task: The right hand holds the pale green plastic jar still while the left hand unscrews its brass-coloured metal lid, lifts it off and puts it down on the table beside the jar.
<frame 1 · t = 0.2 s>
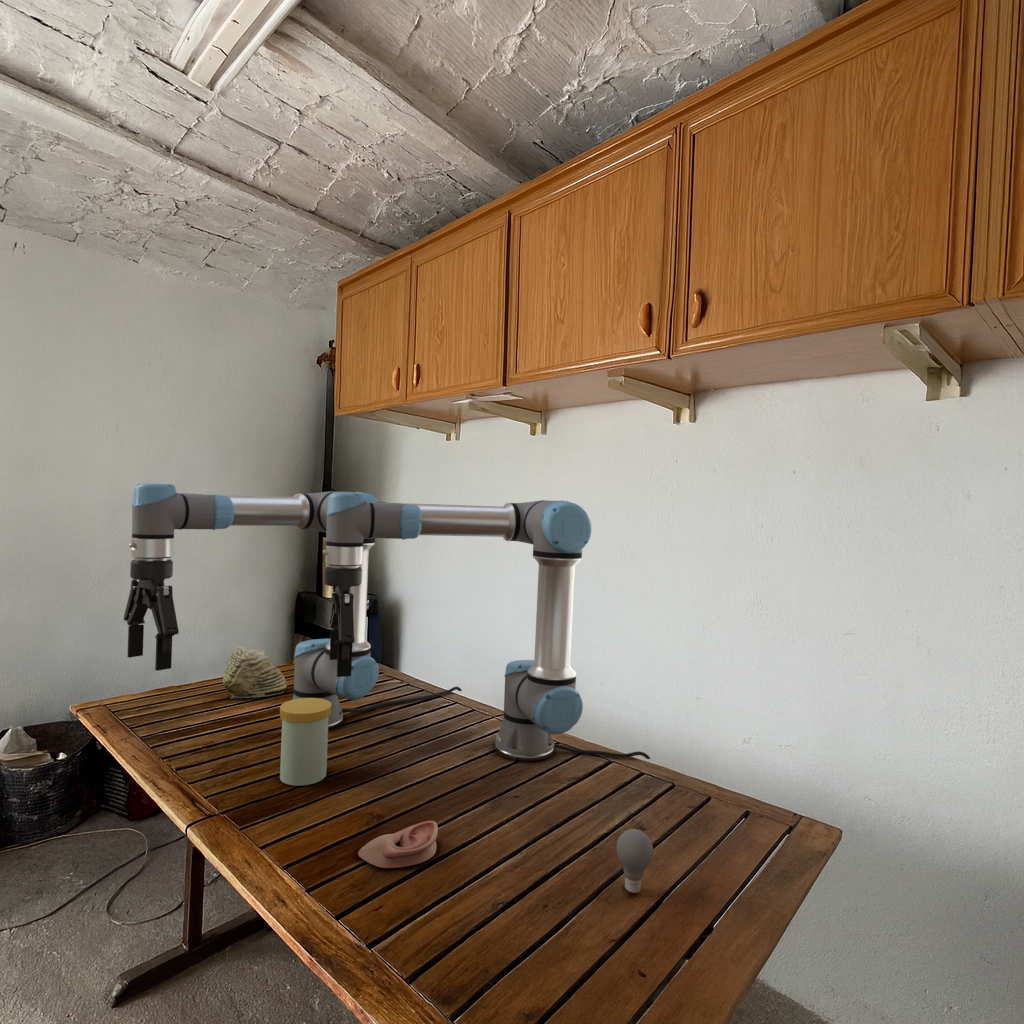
left hand: (148, 662, 129), 28 cm above the table, tool pointing down, fingers open, 13 cm apart
right hand: (339, 667, 133), 28 cm above the table, tool pointing down, fingers open, 13 cm apart
anatomical model: (398, 852, 114), on the table
light bulb: (632, 891, 106), on the table
jar: (303, 775, 143), on the table
fossil: (254, 694, 198), on the table
lid: (306, 706, 143), point 16 cm above the table, screwed on, not yet turned
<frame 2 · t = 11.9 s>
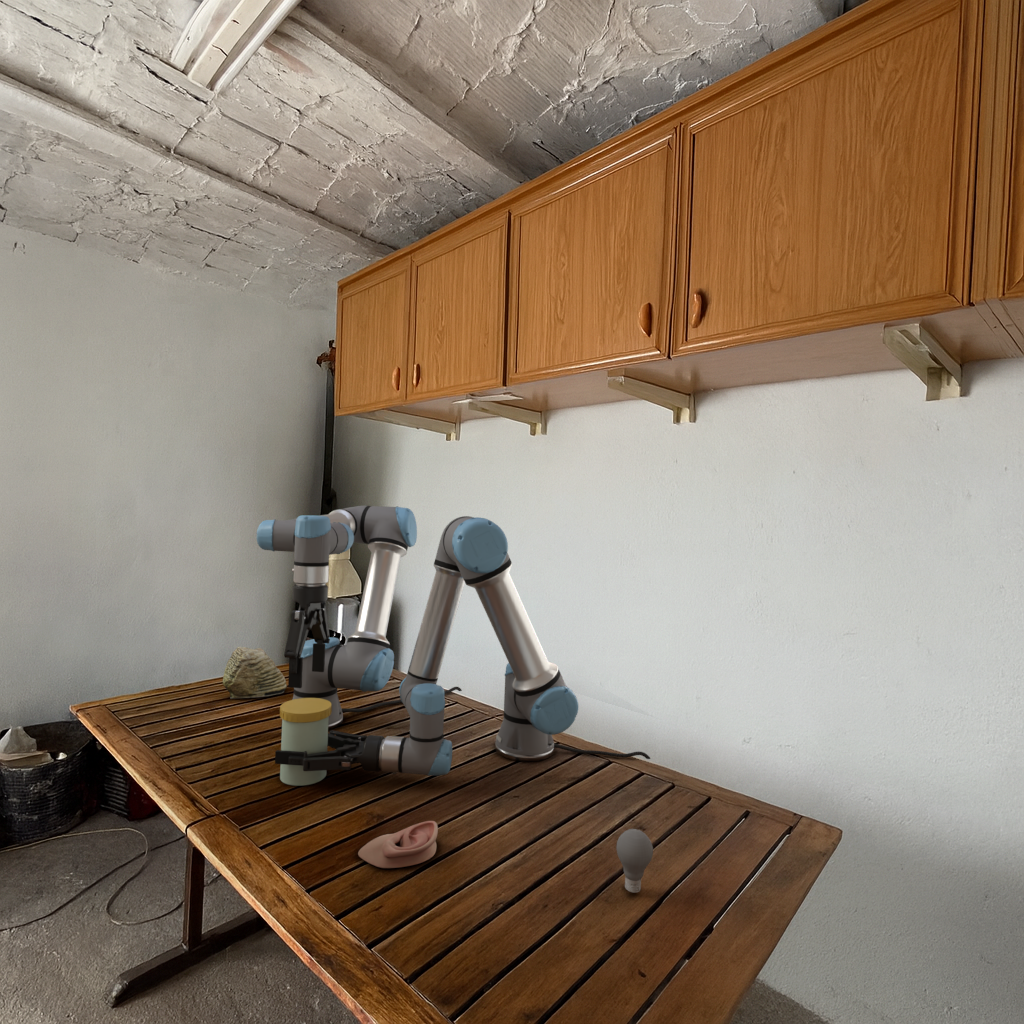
left hand: (307, 679, 143), 22 cm above the table, tool pointing down, fingers open, 12 cm apart
right hand: (285, 747, 143), 6 cm above the table, tool horizontal, fingers closed on jar, 10 cm apart
jar: (303, 775, 143), on the table, touching right hand
everything else where it was.
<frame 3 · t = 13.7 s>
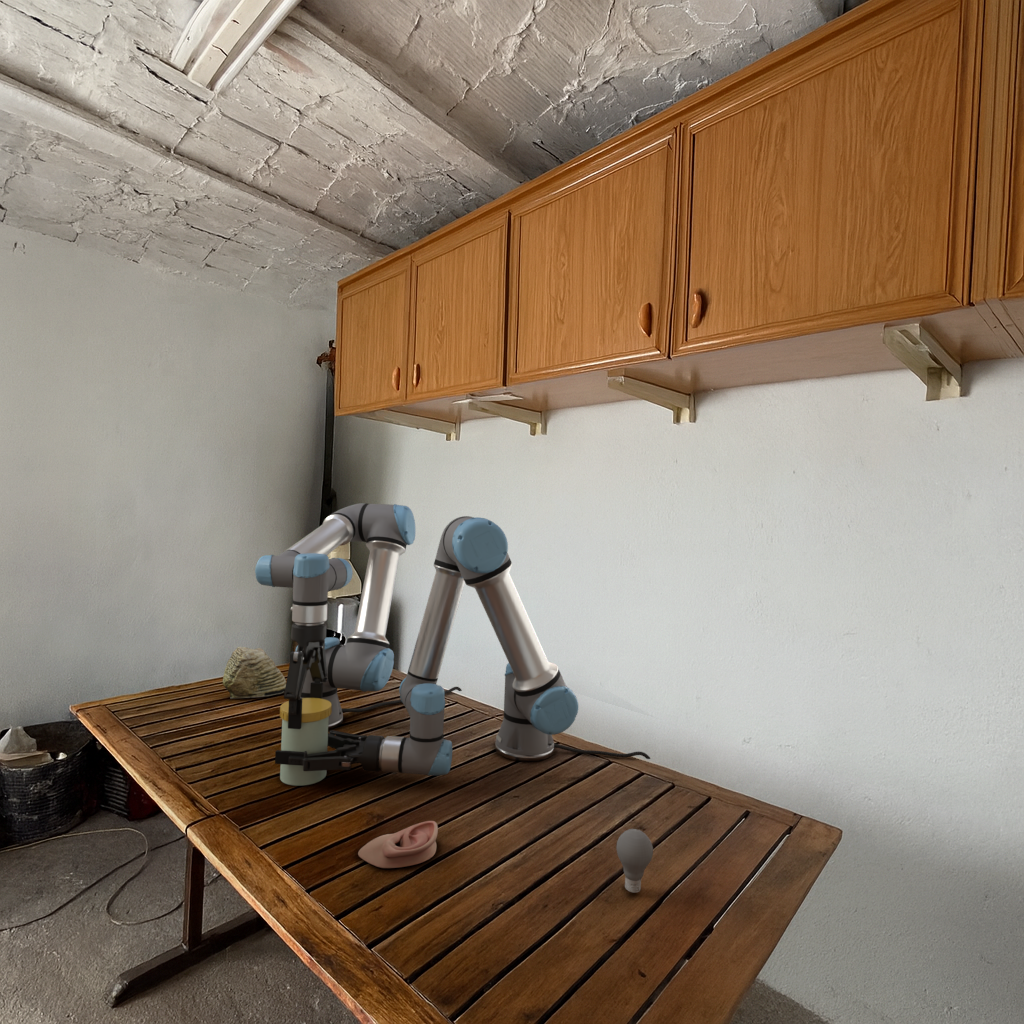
left hand: (305, 719, 143), 13 cm above the table, tool pointing down, fingers closed on lid, 11 cm apart
right hand: (286, 747, 143), 6 cm above the table, tool horizontal, fingers closed on jar, 10 cm apart
jar: (303, 775, 143), on the table, touching right hand
lid: (306, 706, 143), point 16 cm above the table, screwed on, not yet turned, touching left hand
everything else where it was.
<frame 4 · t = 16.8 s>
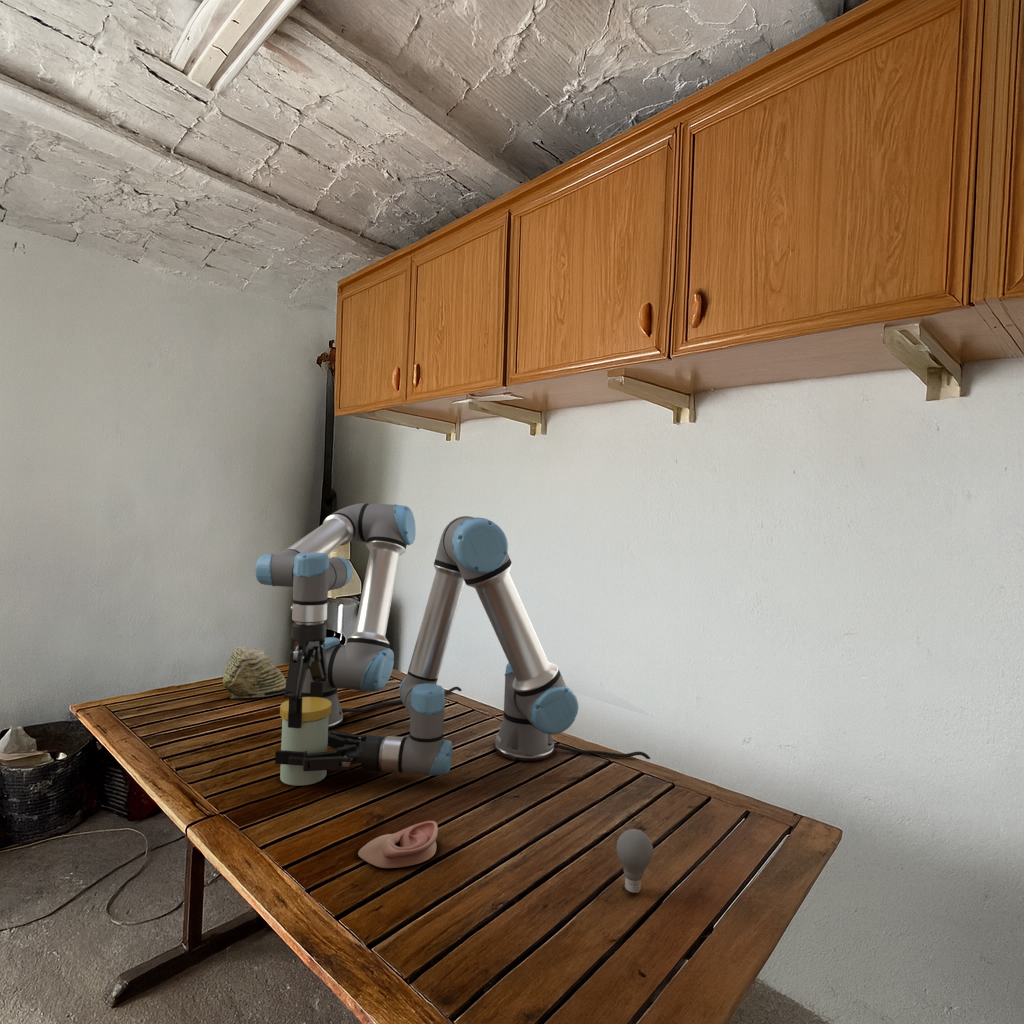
left hand: (305, 718, 143), 13 cm above the table, tool pointing down, fingers closed on lid, 11 cm apart
right hand: (286, 747, 143), 6 cm above the table, tool horizontal, fingers closed on jar, 10 cm apart
jar: (303, 775, 143), on the table, touching right hand
lid: (306, 705, 143), point 16 cm above the table, turned 70° so far, risen 0.2 cm, still on its thread, touching left hand
everything else where it was.
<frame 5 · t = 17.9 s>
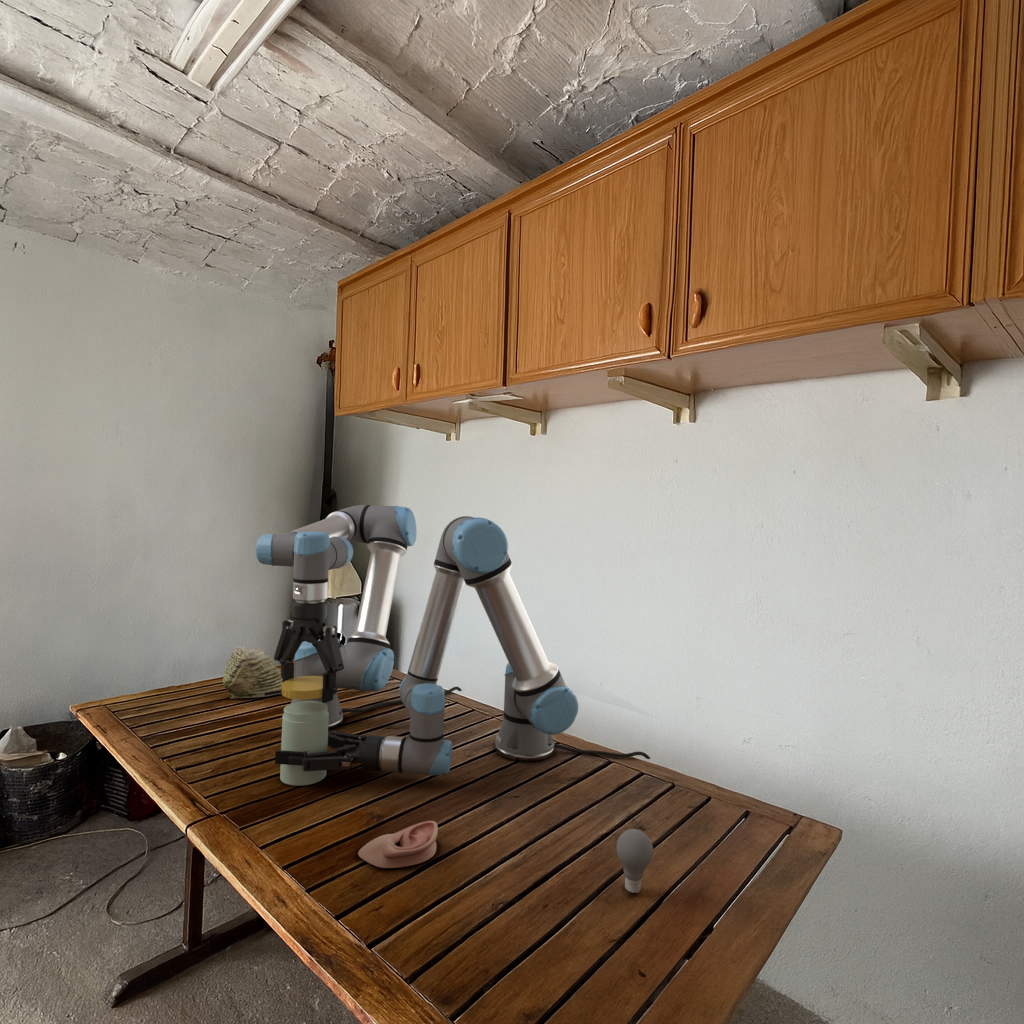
left hand: (307, 696, 143), 18 cm above the table, tool pointing down, fingers closed on lid, 11 cm apart
right hand: (286, 747, 143), 6 cm above the table, tool horizontal, fingers closed on jar, 10 cm apart
jar: (303, 775, 143), on the table, touching right hand
lid: (307, 684, 143), point 21 cm above the table, off its thread, touching left hand
everything else where it was.
when the left hand's fingers open (0 cm above the table, at t = 22.8 s): lid drops 1 cm, point 2 cm above the table.
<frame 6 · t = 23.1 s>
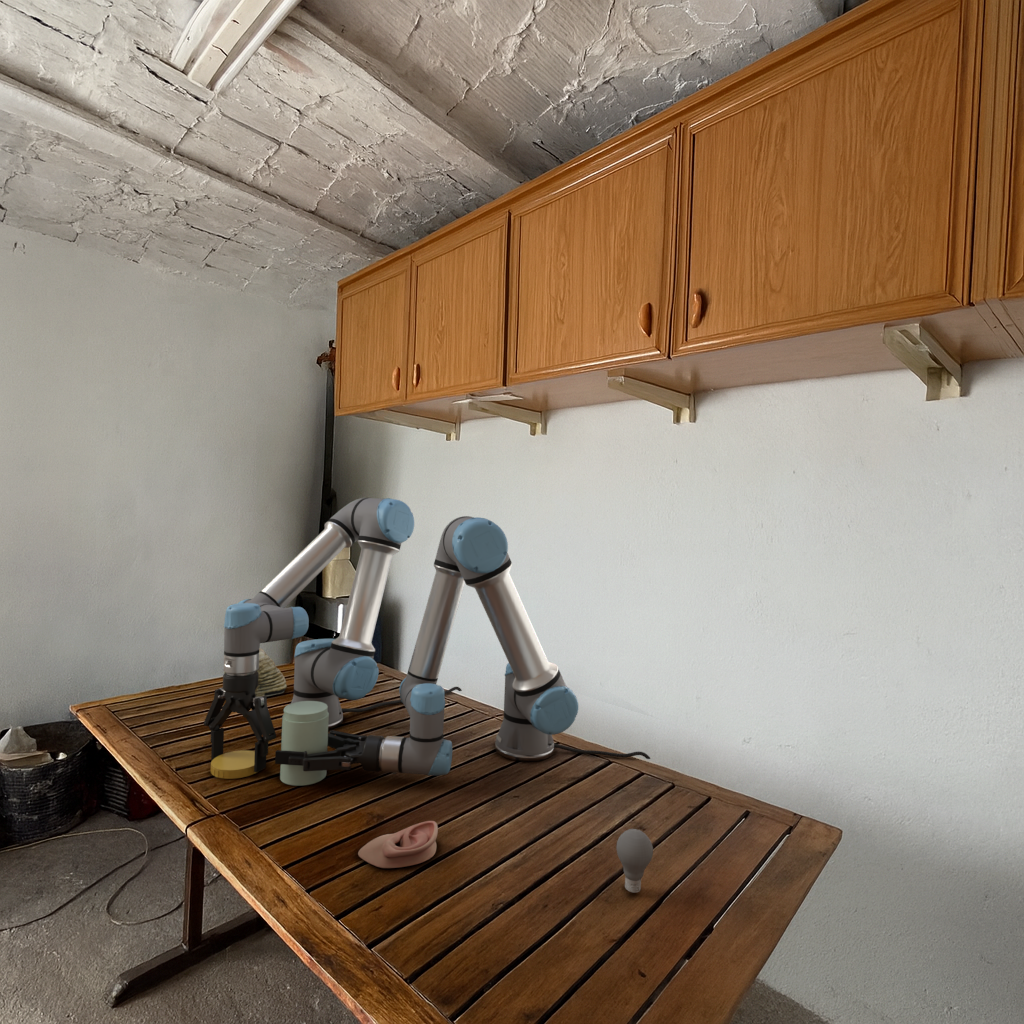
left hand: (238, 763, 146), 1 cm above the table, tool pointing down, fingers open, 13 cm apart
right hand: (285, 747, 143), 6 cm above the table, tool horizontal, fingers closed on jar, 10 cm apart
jar: (303, 775, 143), on the table, touching right hand
lid: (237, 761, 146), point 2 cm above the table, off its thread
everything else where it was.
when the right hand's fingers open (6 cm above the table, at t = 23.9 s): jar stays where it is, on the table.
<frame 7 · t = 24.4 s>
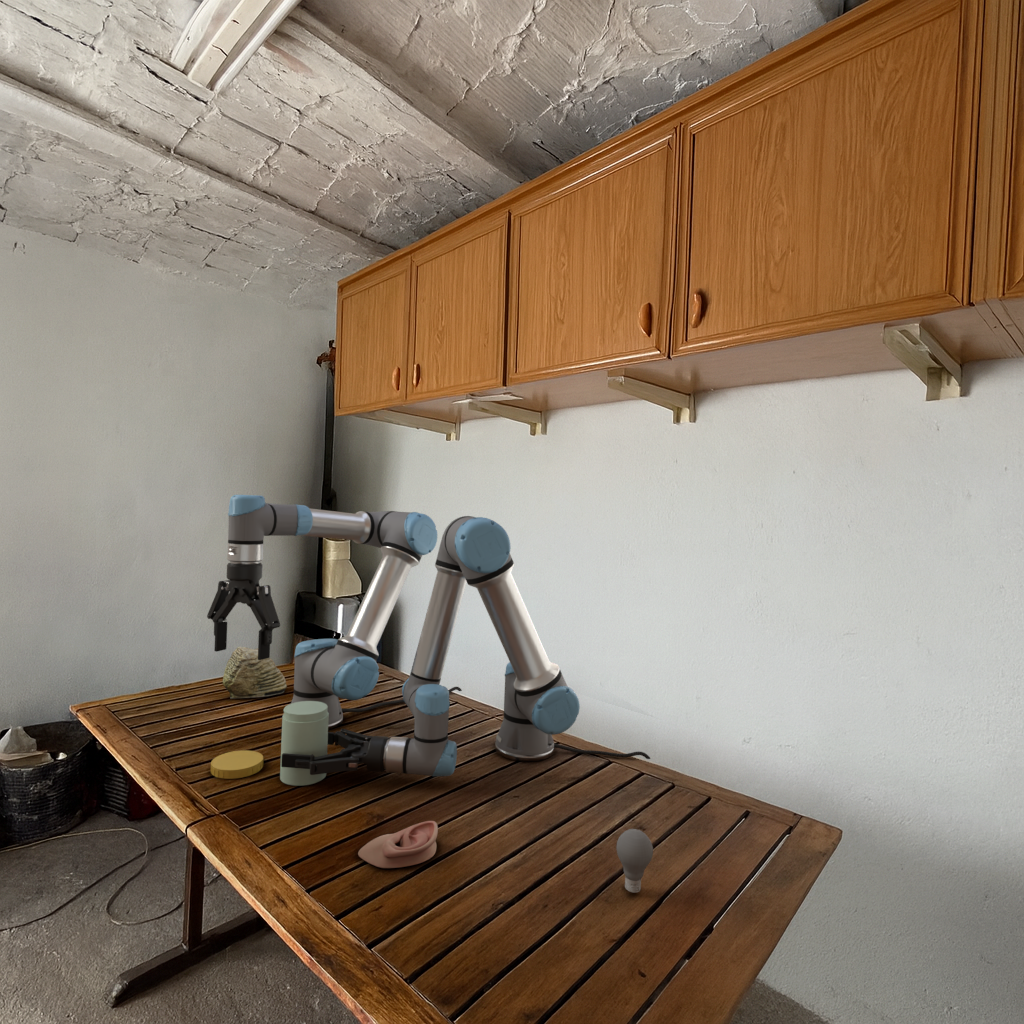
left hand: (241, 654, 145), 26 cm above the table, tool pointing down, fingers open, 13 cm apart
right hand: (294, 747, 143), 6 cm above the table, tool horizontal, fingers open, 13 cm apart
jar: (303, 775, 143), on the table
everything else where it was.
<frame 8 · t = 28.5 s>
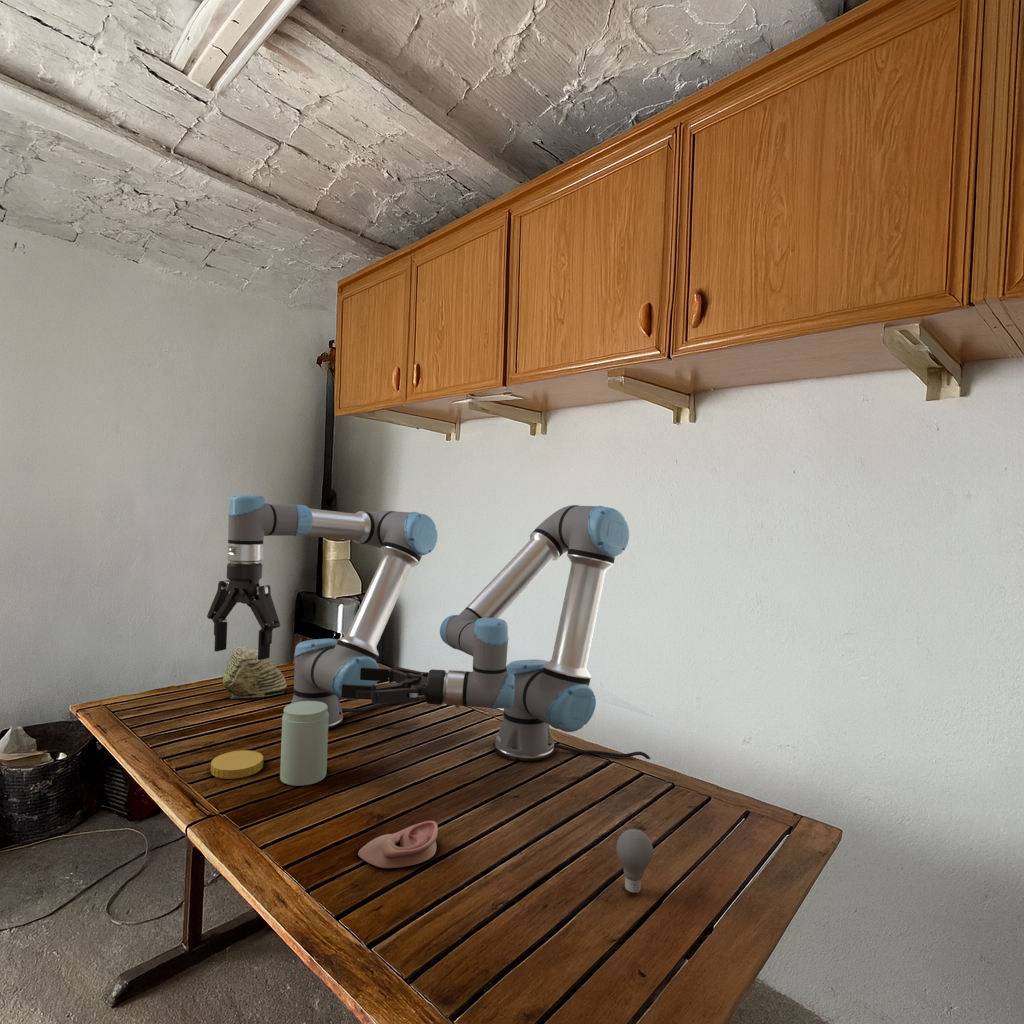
left hand: (241, 654, 145), 26 cm above the table, tool pointing down, fingers open, 13 cm apart
right hand: (351, 681, 142), 22 cm above the table, tool horizontal, fingers open, 13 cm apart
nothing on the table moved.
at the end: lid came off its thread; lid point 1.6 cm above the table; the left hand is holding nothing; the right hand is holding nothing; jar tilted 0°; jar moved 0.0 cm from its start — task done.
